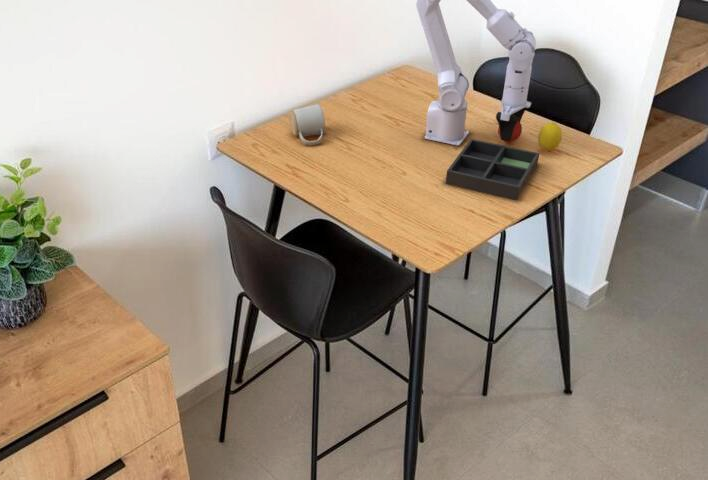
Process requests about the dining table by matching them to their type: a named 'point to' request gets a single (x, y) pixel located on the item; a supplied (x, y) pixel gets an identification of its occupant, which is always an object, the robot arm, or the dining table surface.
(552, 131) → the lemon
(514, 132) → the onion
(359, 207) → the dining table surface
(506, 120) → the robot arm
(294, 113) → the ceramic mug
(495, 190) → the divided tray
